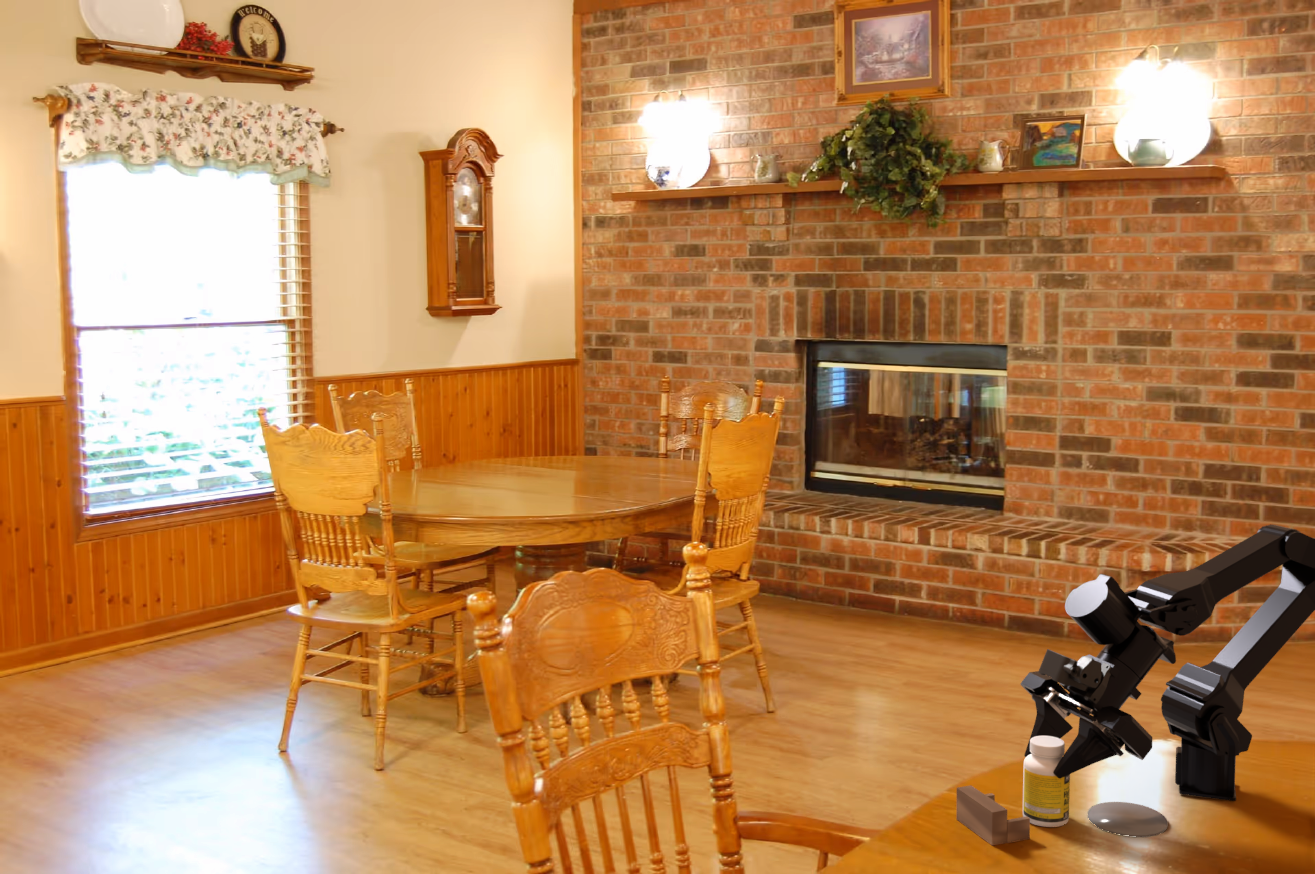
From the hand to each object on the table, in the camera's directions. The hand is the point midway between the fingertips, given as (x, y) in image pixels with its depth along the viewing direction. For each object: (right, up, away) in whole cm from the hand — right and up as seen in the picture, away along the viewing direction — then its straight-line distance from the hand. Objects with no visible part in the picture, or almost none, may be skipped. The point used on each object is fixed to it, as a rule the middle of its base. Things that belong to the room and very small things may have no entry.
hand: (1041, 767), depth 149 cm
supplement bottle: (+1, -7, +1) cm, 7 cm away
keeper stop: (-6, -7, -1) cm, 9 cm away
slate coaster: (+10, -6, 0) cm, 12 cm away
